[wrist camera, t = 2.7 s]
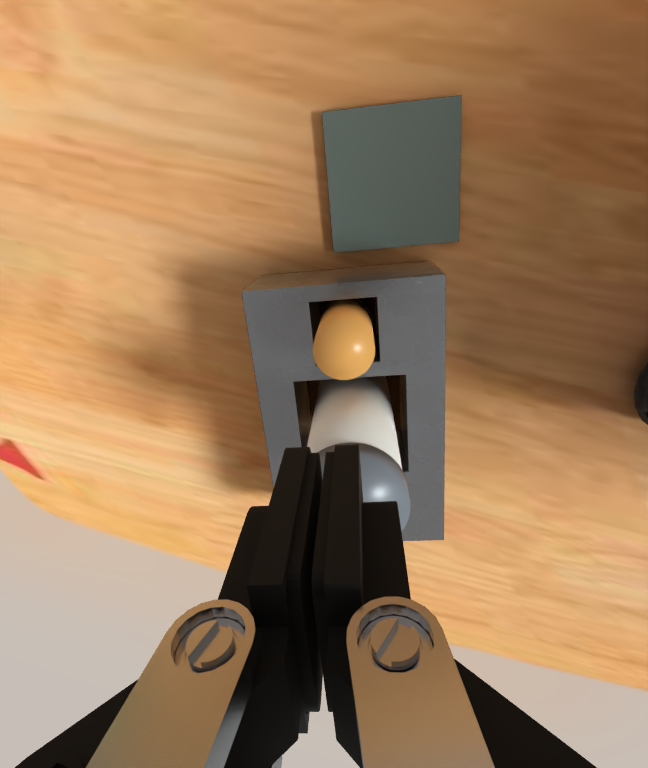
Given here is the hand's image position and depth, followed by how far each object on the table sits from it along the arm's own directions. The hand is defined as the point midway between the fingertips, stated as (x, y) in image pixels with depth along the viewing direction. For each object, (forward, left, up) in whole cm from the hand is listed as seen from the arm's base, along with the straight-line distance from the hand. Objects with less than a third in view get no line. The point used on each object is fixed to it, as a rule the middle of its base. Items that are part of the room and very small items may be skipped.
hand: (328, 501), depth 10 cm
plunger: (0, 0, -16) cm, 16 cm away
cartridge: (+5, 0, -19) cm, 20 cm away
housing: (+5, 0, -19) cm, 20 cm away
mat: (-7, +3, -19) cm, 20 cm away
